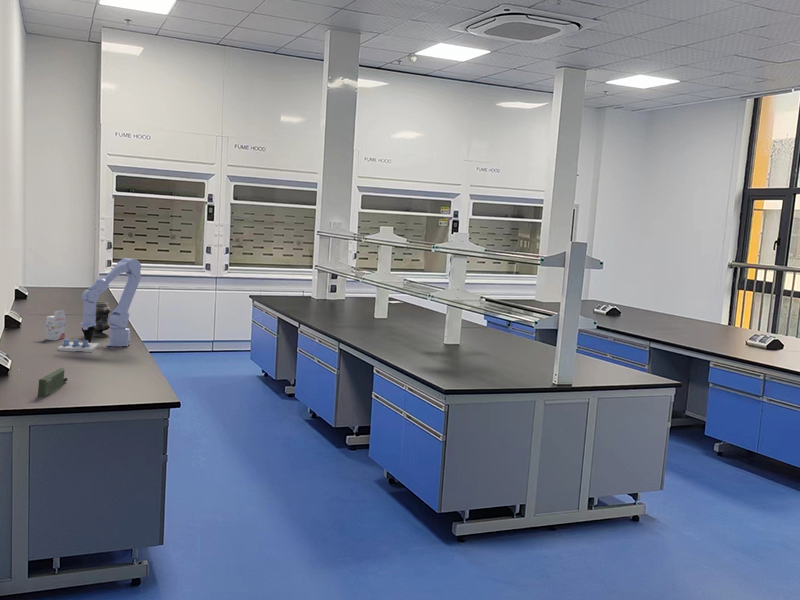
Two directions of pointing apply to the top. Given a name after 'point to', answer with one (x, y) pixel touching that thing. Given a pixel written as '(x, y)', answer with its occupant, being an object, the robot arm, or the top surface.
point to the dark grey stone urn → (101, 319)
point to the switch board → (79, 347)
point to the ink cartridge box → (55, 326)
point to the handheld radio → (51, 382)
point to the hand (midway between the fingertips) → (88, 342)
